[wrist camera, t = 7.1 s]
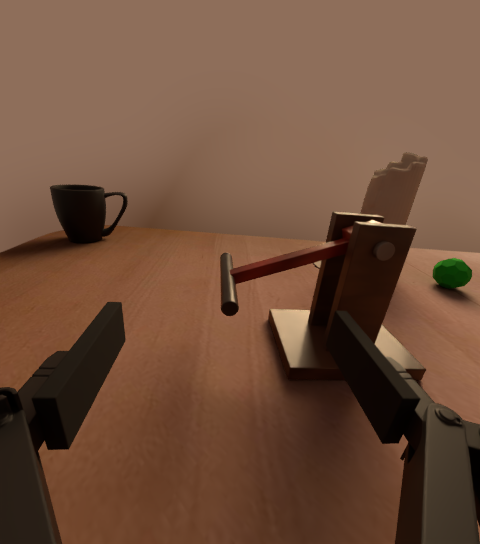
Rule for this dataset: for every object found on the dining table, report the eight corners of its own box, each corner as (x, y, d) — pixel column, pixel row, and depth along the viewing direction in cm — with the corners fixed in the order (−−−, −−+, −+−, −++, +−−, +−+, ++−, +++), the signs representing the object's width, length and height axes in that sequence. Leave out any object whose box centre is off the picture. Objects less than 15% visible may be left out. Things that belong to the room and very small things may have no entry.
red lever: (226, 325, 18) (216, 296, 17) (223, 269, 27) (217, 248, 26) (424, 272, 17) (425, 239, 16) (353, 233, 27) (351, 211, 26)
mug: (129, 244, 49) (125, 192, 45) (54, 246, 44) (43, 188, 41) (130, 233, 56) (127, 187, 52) (66, 233, 51) (57, 183, 48)
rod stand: (287, 379, 21) (319, 227, 16) (268, 318, 29) (285, 204, 24) (421, 380, 22) (489, 239, 17) (366, 321, 31) (402, 213, 26)
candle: (308, 257, 51) (331, 145, 43) (376, 263, 51) (410, 153, 44) (319, 272, 44) (348, 142, 36) (396, 278, 45) (442, 152, 37)
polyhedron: (452, 282, 45) (464, 257, 43) (471, 295, 41) (485, 267, 39) (422, 278, 46) (432, 253, 44) (437, 290, 41) (449, 263, 39)
